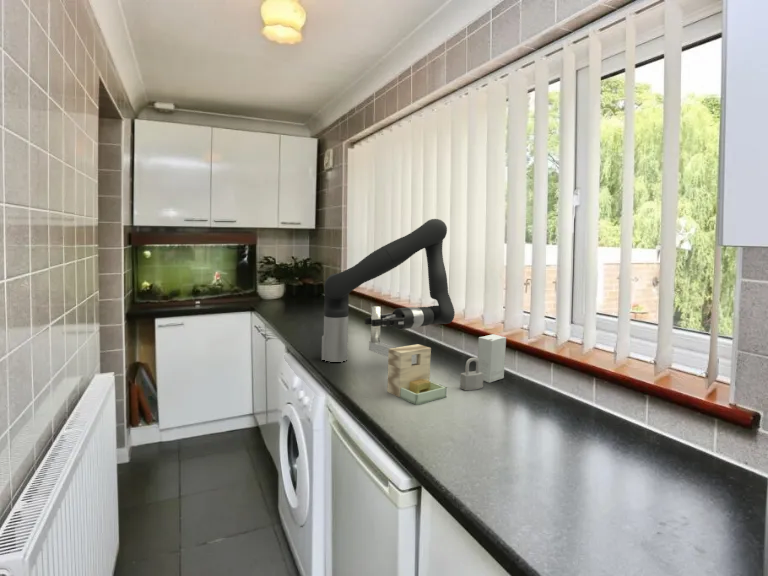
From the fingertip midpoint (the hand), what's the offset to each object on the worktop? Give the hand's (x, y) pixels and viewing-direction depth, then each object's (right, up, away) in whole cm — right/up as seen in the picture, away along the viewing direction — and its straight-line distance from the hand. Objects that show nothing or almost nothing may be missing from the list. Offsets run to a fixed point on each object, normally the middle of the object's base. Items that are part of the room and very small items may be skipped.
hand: (368, 322), depth 150 cm
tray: (+17, -21, -16) cm, 31 cm away
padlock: (+33, -21, -6) cm, 40 cm away
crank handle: (+8, -11, -4) cm, 14 cm away
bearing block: (+13, -21, -10) cm, 26 cm away
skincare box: (+42, -20, +5) cm, 46 cm away
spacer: (+16, -20, -15) cm, 30 cm away
